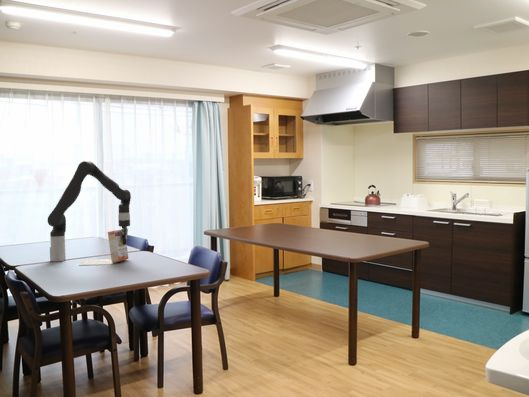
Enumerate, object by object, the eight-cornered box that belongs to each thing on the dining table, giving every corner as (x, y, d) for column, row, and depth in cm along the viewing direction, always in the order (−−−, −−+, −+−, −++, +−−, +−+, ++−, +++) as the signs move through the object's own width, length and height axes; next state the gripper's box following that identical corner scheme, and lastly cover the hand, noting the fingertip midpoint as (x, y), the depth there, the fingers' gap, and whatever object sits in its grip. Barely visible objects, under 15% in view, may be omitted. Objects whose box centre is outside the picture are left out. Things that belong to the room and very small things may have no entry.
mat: (79, 265, 322) (79, 265, 322) (85, 260, 340) (85, 259, 340) (112, 264, 325) (112, 263, 325) (117, 259, 342) (117, 258, 342)
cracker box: (119, 261, 326) (114, 230, 327) (111, 262, 328) (106, 231, 328) (129, 258, 340) (124, 228, 340) (121, 259, 341) (117, 230, 341)
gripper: (120, 218, 339) (120, 243, 340) (116, 220, 326) (117, 246, 327) (131, 218, 340) (131, 242, 341) (128, 220, 326) (128, 246, 328)
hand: (124, 244), depth 334 cm, fingers closed
